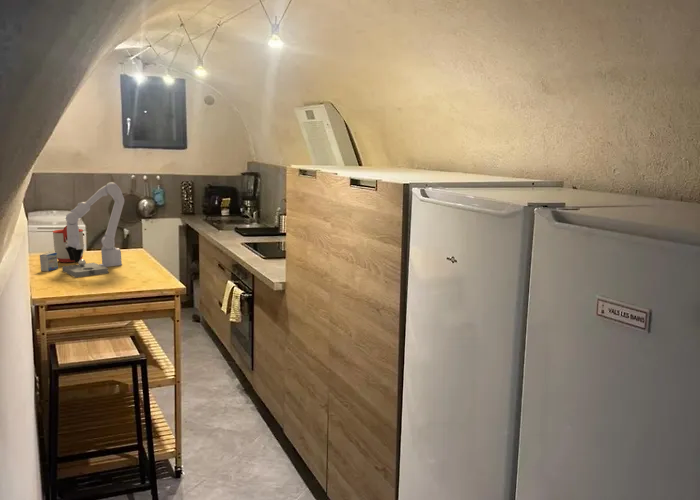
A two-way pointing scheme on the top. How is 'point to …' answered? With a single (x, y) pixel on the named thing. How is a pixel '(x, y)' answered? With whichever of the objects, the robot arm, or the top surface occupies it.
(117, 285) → the top surface
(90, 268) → the board
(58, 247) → the citrus juicer
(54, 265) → the medicine box
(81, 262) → the ball
